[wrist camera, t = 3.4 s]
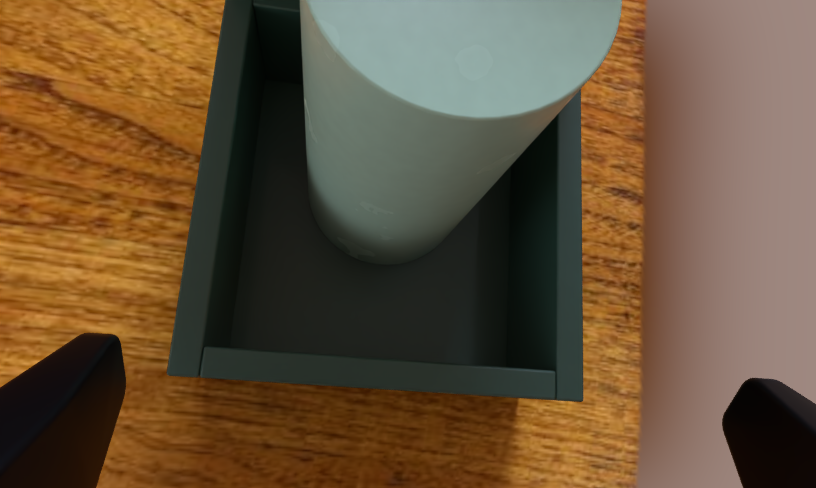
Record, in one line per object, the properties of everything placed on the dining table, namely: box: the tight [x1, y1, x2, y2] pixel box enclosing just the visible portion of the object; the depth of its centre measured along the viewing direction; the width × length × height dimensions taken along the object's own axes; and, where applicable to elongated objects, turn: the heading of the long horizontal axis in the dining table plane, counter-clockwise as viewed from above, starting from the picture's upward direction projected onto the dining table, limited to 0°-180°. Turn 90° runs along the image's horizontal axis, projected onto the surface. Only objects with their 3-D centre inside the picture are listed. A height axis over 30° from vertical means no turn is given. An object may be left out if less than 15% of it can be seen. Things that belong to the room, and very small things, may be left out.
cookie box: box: [167, 0, 583, 402], centre depth 19 cm, size 12×11×5 cm
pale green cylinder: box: [300, 0, 622, 265], centre depth 16 cm, size 6×6×12 cm
